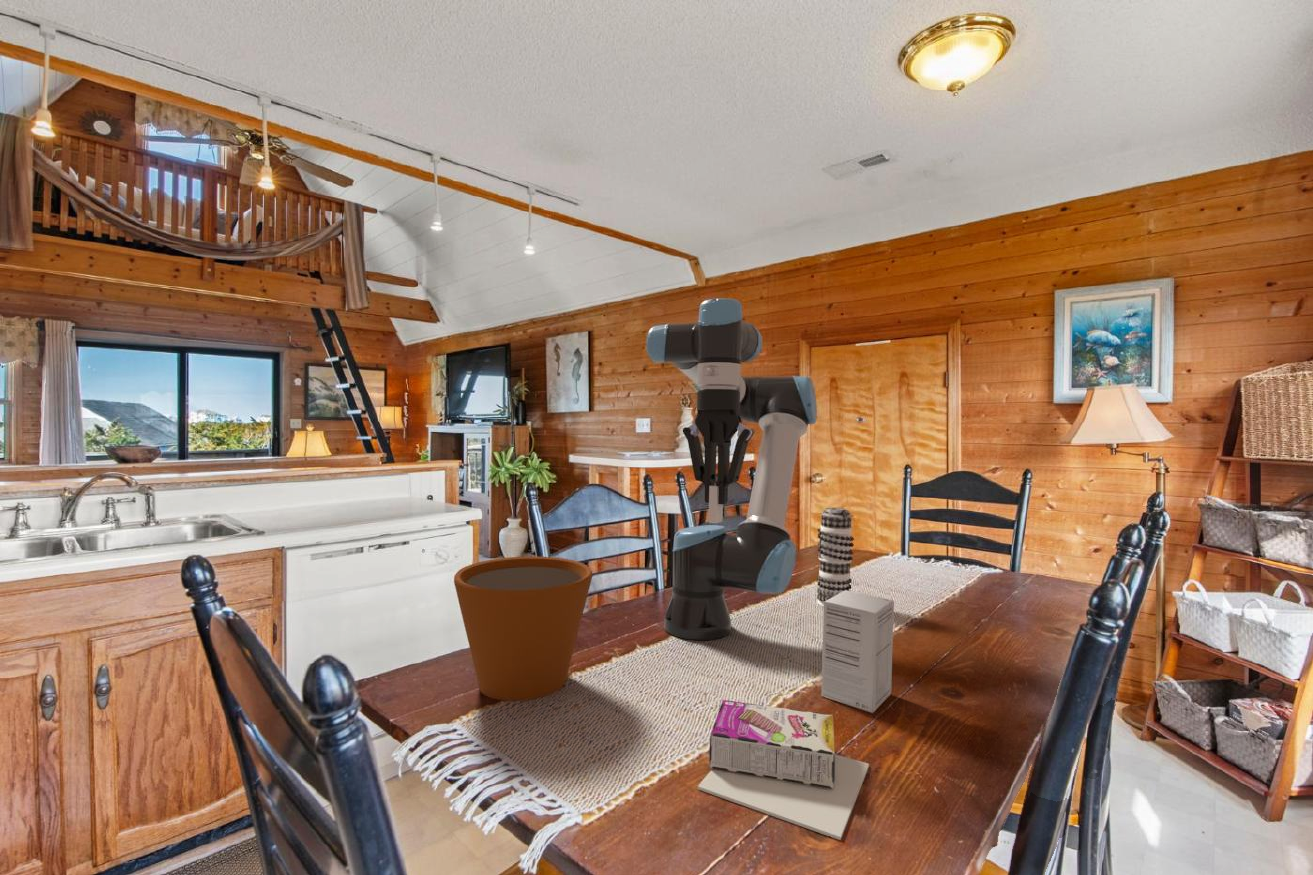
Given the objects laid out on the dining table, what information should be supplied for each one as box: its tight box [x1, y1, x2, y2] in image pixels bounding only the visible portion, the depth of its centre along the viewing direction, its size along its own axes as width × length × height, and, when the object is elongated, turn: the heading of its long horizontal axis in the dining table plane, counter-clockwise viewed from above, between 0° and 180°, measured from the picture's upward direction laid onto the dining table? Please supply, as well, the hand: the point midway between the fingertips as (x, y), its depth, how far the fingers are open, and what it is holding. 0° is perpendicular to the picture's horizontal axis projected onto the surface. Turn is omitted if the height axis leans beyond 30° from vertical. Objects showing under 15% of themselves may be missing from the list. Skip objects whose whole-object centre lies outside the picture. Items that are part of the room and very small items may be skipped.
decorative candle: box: [816, 507, 855, 608], centre depth 156 cm, size 9×9×25 cm
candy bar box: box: [708, 699, 836, 789], centre depth 84 cm, size 11×5×16 cm
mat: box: [697, 753, 870, 841], centre depth 80 cm, size 18×17×1 cm
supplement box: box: [821, 590, 895, 714], centre depth 104 cm, size 10×9×17 cm
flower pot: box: [453, 556, 593, 702], centre depth 107 cm, size 24×24×20 cm
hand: (715, 521), depth 106 cm, fingers closed
